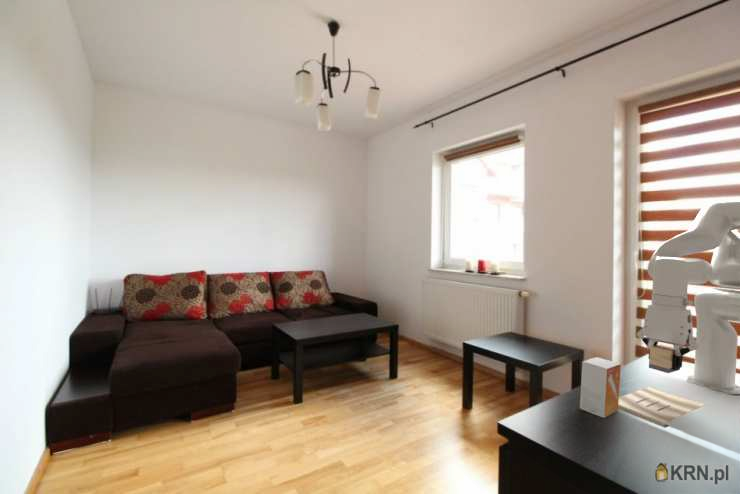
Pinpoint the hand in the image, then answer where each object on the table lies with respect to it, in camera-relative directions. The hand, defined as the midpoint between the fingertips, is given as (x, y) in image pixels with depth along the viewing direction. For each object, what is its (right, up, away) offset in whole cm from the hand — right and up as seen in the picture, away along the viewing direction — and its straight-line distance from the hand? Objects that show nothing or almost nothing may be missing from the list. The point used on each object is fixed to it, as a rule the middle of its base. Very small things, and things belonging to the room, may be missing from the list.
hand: (664, 365), depth 100 cm
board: (-3, -11, -1) cm, 12 cm away
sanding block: (0, -1, 0) cm, 1 cm away
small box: (-21, -11, -4) cm, 24 cm away
